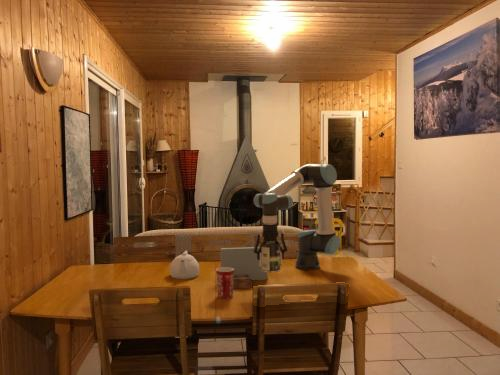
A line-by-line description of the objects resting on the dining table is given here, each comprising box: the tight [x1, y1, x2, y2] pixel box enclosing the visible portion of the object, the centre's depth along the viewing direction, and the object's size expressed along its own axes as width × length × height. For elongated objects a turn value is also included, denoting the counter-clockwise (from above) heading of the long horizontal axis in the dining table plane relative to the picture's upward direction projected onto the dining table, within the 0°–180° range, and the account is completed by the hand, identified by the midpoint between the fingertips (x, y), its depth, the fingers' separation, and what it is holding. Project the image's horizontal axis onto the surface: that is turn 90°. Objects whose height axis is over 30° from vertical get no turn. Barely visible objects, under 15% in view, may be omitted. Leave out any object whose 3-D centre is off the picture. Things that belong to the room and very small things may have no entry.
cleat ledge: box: [233, 275, 253, 289], centre depth 233 cm, size 14×14×5 cm
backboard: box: [220, 246, 268, 281], centre depth 242 cm, size 26×2×18 cm, turn 98°
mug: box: [215, 267, 234, 299], centre depth 211 cm, size 13×9×14 cm
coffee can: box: [259, 241, 281, 274], centre depth 224 cm, size 10×10×14 cm
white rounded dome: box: [169, 250, 200, 280], centre depth 251 cm, size 19×18×14 cm
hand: (270, 265), depth 225 cm, fingers closed on coffee can, 10 cm apart
